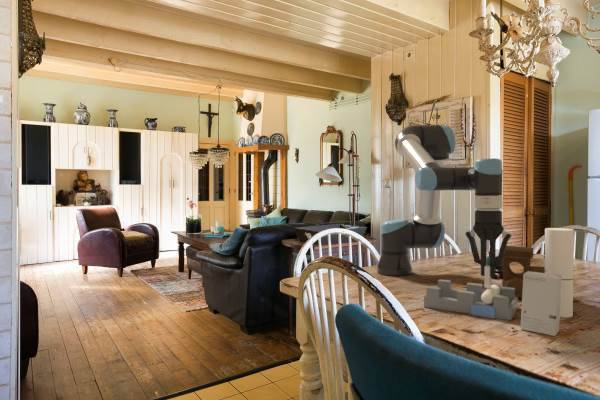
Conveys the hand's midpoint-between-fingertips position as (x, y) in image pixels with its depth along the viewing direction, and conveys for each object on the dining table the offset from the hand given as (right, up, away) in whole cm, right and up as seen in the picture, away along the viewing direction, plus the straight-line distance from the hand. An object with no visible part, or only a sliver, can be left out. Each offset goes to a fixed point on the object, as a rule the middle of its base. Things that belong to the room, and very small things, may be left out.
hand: (487, 286), depth 127 cm
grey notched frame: (-4, -7, +3) cm, 9 cm away
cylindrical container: (+19, -7, -4) cm, 21 cm away
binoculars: (+25, -6, +45) cm, 52 cm away
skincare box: (+6, -8, -18) cm, 21 cm away
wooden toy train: (+22, -7, +14) cm, 27 cm away
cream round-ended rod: (0, -4, 0) cm, 4 cm away
